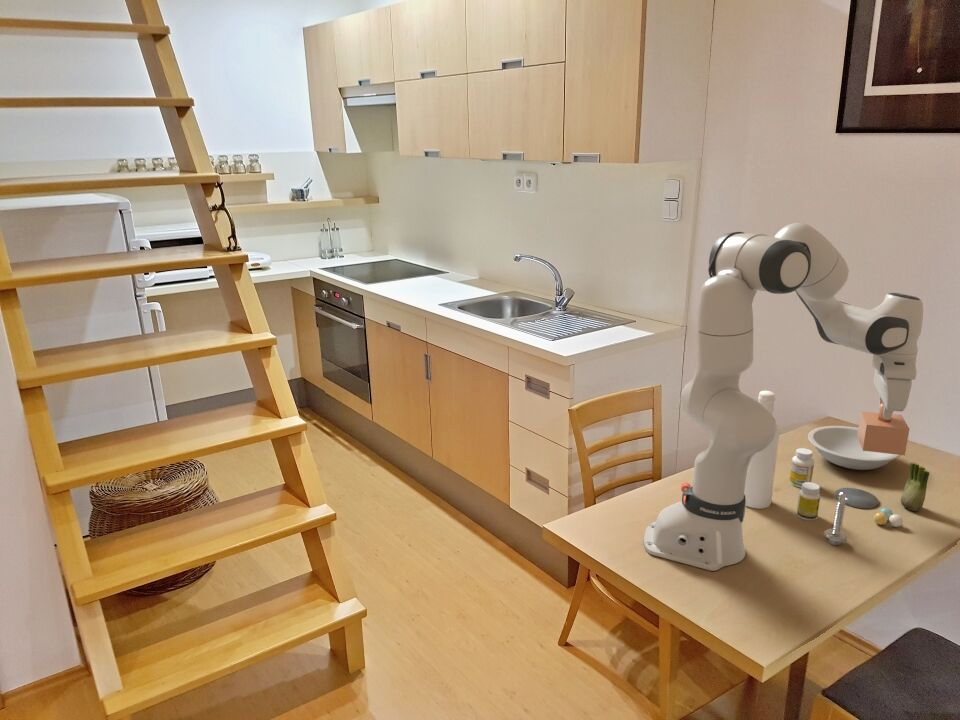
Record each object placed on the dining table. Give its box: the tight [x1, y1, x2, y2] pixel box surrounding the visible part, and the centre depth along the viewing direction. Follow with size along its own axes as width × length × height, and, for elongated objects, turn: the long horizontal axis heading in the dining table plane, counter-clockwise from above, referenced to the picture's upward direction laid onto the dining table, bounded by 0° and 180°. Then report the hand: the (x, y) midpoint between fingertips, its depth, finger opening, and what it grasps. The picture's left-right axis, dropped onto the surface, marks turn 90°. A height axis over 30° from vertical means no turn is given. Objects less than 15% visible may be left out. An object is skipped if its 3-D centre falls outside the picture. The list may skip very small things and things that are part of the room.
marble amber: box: [873, 511, 889, 526], centre depth 172 cm, size 3×3×3 cm
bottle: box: [744, 390, 780, 510], centre depth 179 cm, size 8×8×30 cm
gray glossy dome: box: [834, 487, 879, 510], centre depth 184 cm, size 10×10×1 cm
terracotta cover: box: [857, 402, 910, 456], centre depth 173 cm, size 9×9×11 cm
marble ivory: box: [888, 513, 904, 528], centre depth 171 cm, size 3×3×3 cm
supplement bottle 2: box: [796, 481, 821, 521], centre depth 175 cm, size 5×5×8 cm
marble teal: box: [878, 507, 893, 521], centre depth 174 cm, size 3×3×3 cm
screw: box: [823, 492, 849, 546], centre depth 163 cm, size 13×5×5 cm
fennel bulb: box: [900, 461, 930, 512], centre depth 178 cm, size 6×5×12 cm
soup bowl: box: [807, 425, 901, 471], centre depth 204 cm, size 24×24×7 cm
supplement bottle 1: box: [789, 447, 815, 489], centre depth 191 cm, size 5×5×10 cm
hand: (884, 415), depth 172 cm, fingers closed on terracotta cover, 3 cm apart
